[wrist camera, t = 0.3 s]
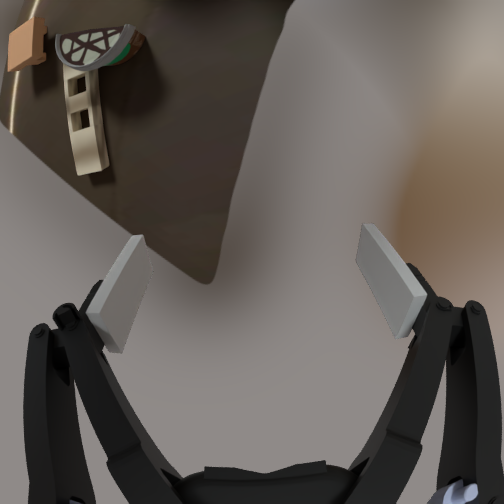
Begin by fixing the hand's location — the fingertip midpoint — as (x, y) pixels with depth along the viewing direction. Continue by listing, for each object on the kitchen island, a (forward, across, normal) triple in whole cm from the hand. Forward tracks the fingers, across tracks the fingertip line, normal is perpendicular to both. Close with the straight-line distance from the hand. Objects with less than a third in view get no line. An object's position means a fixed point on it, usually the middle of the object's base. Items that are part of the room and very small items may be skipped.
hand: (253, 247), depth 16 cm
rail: (+28, -25, +12) cm, 39 cm away
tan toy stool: (+28, -35, +28) cm, 53 cm away
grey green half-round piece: (+28, -20, +19) cm, 39 cm away
